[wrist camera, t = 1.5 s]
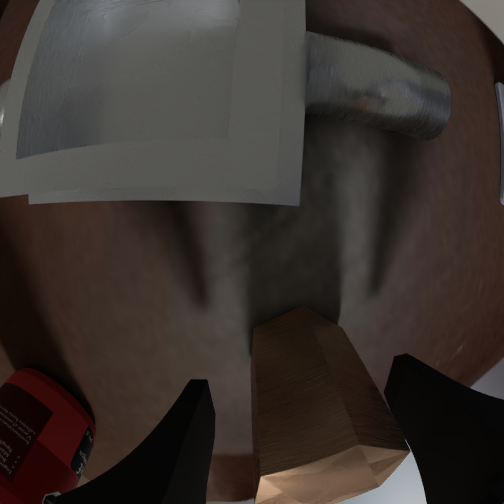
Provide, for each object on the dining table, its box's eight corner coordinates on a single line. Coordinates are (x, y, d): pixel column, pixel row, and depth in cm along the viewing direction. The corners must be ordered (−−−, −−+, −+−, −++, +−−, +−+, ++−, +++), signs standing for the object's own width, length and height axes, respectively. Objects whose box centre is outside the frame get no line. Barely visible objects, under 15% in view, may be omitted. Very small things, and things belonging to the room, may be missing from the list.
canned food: (72, 443, 15) (33, 530, 4) (7, 376, 13) (-55, 456, 2) (119, 435, 14) (77, 558, 3) (36, 350, 12) (-55, 463, 1)
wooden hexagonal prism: (347, 304, 11) (429, 425, 4) (327, 383, 12) (366, 498, 6) (254, 303, 11) (265, 454, 4) (249, 385, 12) (252, 514, 5)
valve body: (392, -3, 7) (434, -44, 3) (403, 212, 10) (477, 236, 6) (31, 21, 6) (-12, -1, 2) (-1, 203, 9) (-60, 219, 5)
